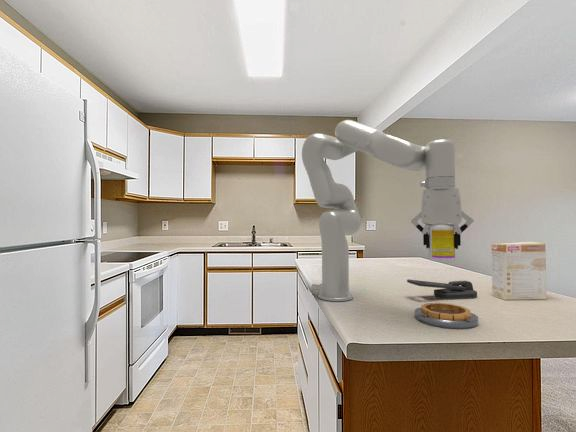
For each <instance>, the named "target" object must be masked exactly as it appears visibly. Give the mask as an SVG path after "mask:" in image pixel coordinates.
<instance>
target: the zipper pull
mask: <svg viewBox="0 0 576 432" xmlns="http://www.w3.org/2000/svg"><path fill="white" fill-rule="evenodd" d="M406 282H407V283H409V284H410V285H415V286H418V287H424V288H425V287H426V288H437V289H433V296H434V298H436V299H440V300H445V301H448V300H449V301H450V300H451V301H452V300H453V301H454V300H472V299H477V298H478V291H477V290H474V287H473V286H474V285H473V283H472V281H469V280H454V281H453V280H452V281H449V282H448V283H443V282H437V281H436V282H435V281H434V282H433V281H427V280H416V279H409V278H408V279H407V280H406Z"/></svg>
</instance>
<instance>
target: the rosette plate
mask: <svg viewBox="0 0 576 432" xmlns="http://www.w3.org/2000/svg"><path fill="white" fill-rule="evenodd" d="M414 319H416V320H417V321H418V322H420V323H422V324H425V325H427V326H428V325H429V326H432V327H435V328H436V327H437V328H441V329H442V328H443V329H448V330H449V329H452V330H469V329H473V328H476V327H479V316H478V315H477V314H475V313H473V312H471V309H469V308H467V307H465V306H462V305H458V304H454V303H453V304H452V303H447V302H446V303H445V302H428V303H427V302H426V303H423V304H421V305H420V307H417V308H416V309H414Z"/></svg>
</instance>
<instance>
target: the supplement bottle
mask: <svg viewBox="0 0 576 432" xmlns="http://www.w3.org/2000/svg"><path fill="white" fill-rule="evenodd" d="M427 232H428V234H429V248H428V258H429V261H431V262H438V263H447V262H448V263H452V262H454V261H455V259H456V248H455V236H454V234H455V229H454V227H453V225H445V224H439V225H430V227H429V229H428V231H427Z"/></svg>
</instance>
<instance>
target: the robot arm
mask: <svg viewBox="0 0 576 432" xmlns="http://www.w3.org/2000/svg"><path fill="white" fill-rule="evenodd" d="M334 134H335V136H332V135H329V134H325V133H320V132H319V133H318V132H317V133H313V134H310V135H308V137H306V139H305V140H304V142H303V144H302V149H301V159H302V160H301V161H302V163H303V166H304V168H305V171H306V174H307V176H308V179H309V183H310V184H309V185H310V187H311V191H312V193H313V197H314V199H315V202H316V204H317V205H318V206H319V207H320V208H326V209H328V210H325V211H324V212H322V214H321V215H320V217H319V219H318V228H319V234H320V240H321V283H320V284H315V283H312V284H311V285H310V286H311V290H312V291H318V293H317V297H318V298H319V300H320V299H321V300H323V301H326V302H327V301H329V302H346V301H351V300H354V294H353V292H350V285H349V284H350V275H349V274H350V269H349V267H350V266H349V264H350V262H349V260H350V259H349V257H350V256H349V255H350V254H349V253H350V252H349V243H348V240H347V237H346V236H349V235H354V234H355V233H357V232H358V231H359V230H360V229H361V224H362V223H361V221H362V220H361V216H360V213H359V209H358V206H357V204H356V201H355V197H354V195H353V192H352V191H351V190H350V188H349V187H348V186H347V185H346V184H343V183H338V182H335V180H334V178H333V175H332V171H331V168H330V167H329V165H328V164H327V162H326V161H325V160H324V159H326V160H331V161H337V160H342V159H344V158H346V157H347V156H350V155H352V154H354V153H357V152H361V153H363V154H366V155H368V156H370V157H374V158H376V159H378V160H380V161H382V162H385V163H387V164H390V165H392V166H394V167H396V168H400V169H404V170H408V171H412V172H419V171H420V172H421V171H424V170H425V180H424V181H420V187H423V188H425V189H424V190H422V195H421V207H420V208H421V209H420V210H421V211H420V212H419V213H418V214H417V215H415V216H414V217H413V218H412V219H410V220H411V221H410V223H411V224H412V225H413V226H414V227H415V228H416V229H418V231H419V232H421V234H423V235H422V237H423V238H422V239H423V241H422V242H423V246H425V249H429V231H428V229H429V227H430V225H439V224H445V225H453V227H454V236H455V250H458V249H459V246H461V243H462V241H461V234H462V233H463V232H464V231H466V230H467V229H468V228H469V227H470V226H471V224H473V223H474V219H473V218H472V217H470V216H469V215H468V214H467V213H466V212H464V211H463V210H462V200H461V193H460V190H459V188H456V167H455V166H456V162H455V161H456V158H455V153H456V152H455V144H454V142H453V140H451V139H434V140H432V141H429V142H427V143H426V144H425V146H423V145H418V144H416V143H413V142H410V141H408V140H404V139H401V138H399V137H396V136H392V135H390V134H387V133H384V132H383V130H381V129H378V128H376V127H372V126H370V125H366V124H364V123H360V122H358V121H355V120H353V119H345V120H342V121H340V122H338V124H337V125H336V127H335V129H334ZM420 219H421V223H422V224H424V227H423V225H421V224H420V223H419V222H418V221H419V220H420ZM463 219H464V220H465V222H464V223H463V224H462V225H461V226H459V224H461V223H462V221H463Z"/></svg>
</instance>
